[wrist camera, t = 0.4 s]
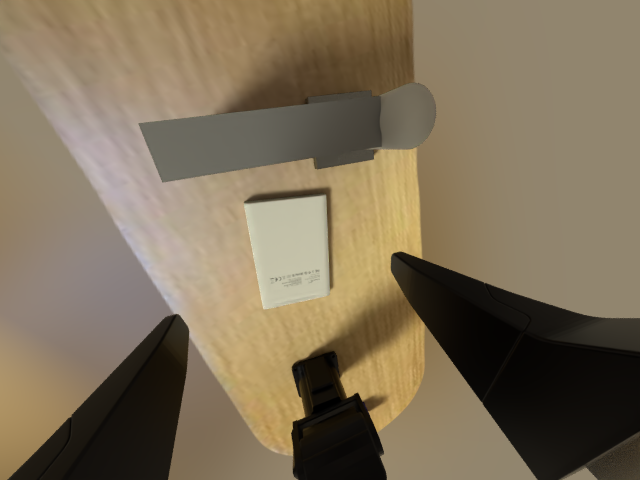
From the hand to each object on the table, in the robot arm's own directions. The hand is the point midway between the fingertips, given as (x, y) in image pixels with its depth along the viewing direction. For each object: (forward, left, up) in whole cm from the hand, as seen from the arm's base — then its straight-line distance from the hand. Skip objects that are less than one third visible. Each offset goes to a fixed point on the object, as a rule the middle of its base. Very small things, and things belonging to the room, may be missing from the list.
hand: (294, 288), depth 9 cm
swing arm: (+6, -3, -14) cm, 15 cm away
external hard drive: (-6, -1, -16) cm, 17 cm away
